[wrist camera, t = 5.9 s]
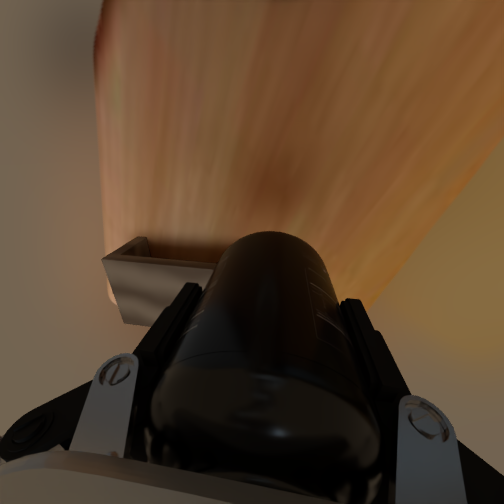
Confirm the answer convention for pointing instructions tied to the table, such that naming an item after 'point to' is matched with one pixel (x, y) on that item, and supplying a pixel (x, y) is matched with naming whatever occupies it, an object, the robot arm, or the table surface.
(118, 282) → the walnut shelf
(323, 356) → the supplement bottle
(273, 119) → the table surface
